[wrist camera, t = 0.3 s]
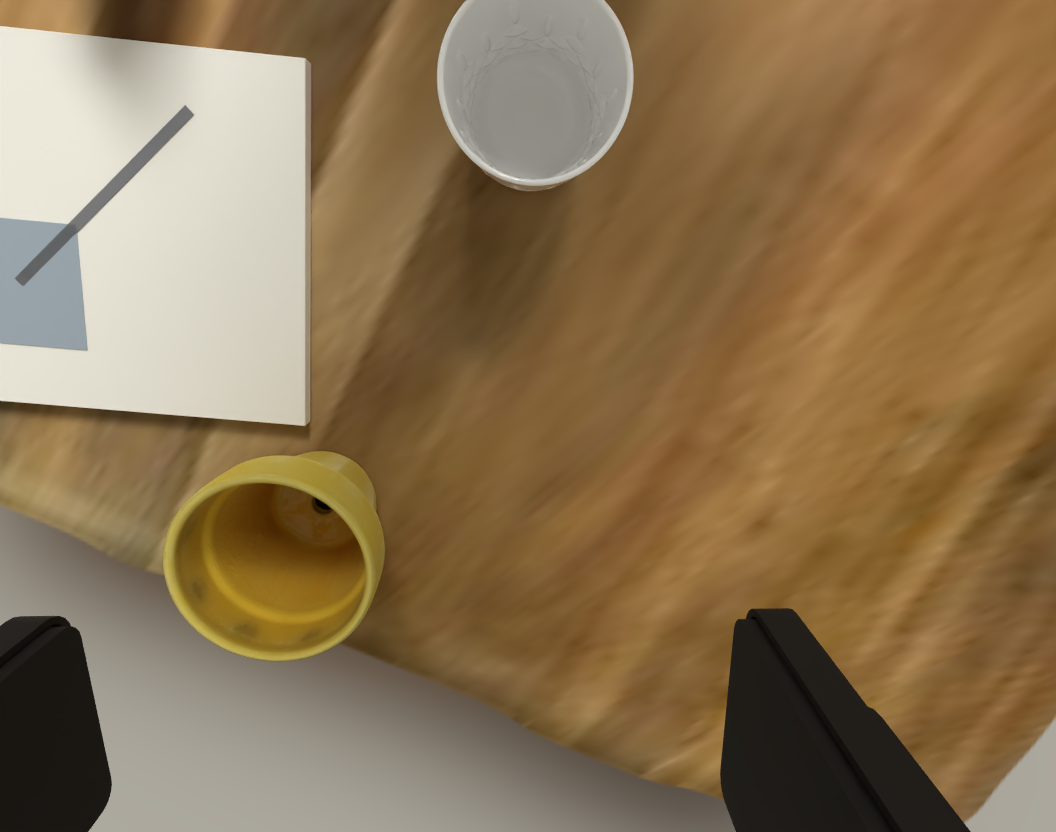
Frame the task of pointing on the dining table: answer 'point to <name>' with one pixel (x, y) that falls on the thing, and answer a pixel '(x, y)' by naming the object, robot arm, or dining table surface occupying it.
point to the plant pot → (277, 555)
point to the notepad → (154, 227)
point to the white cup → (535, 87)
